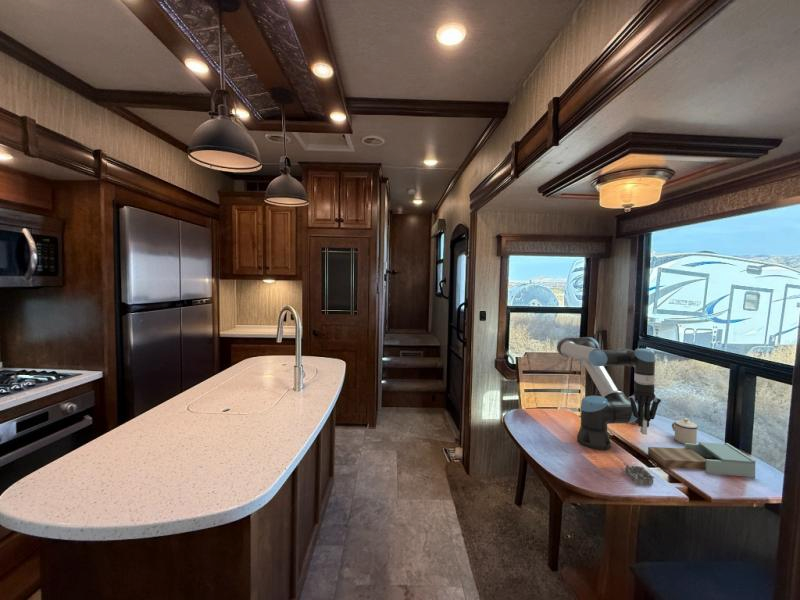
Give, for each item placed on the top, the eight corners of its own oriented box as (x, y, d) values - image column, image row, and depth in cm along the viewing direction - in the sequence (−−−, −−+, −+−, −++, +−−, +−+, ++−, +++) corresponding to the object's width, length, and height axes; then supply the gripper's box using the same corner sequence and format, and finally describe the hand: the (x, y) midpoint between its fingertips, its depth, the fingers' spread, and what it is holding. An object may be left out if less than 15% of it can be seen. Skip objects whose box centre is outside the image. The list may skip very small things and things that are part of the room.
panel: (664, 468, 149) (664, 459, 149) (648, 455, 161) (648, 446, 161) (709, 471, 147) (709, 462, 147) (689, 457, 159) (689, 448, 159)
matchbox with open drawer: (707, 472, 145) (707, 456, 145) (684, 454, 160) (684, 439, 160) (754, 477, 141) (755, 460, 141) (727, 457, 157) (727, 443, 156)
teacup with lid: (702, 444, 170) (702, 421, 169) (685, 445, 169) (686, 422, 168) (679, 434, 182) (680, 412, 181) (664, 435, 181) (664, 413, 180)
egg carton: (622, 471, 147) (622, 462, 147) (640, 472, 147) (640, 463, 146) (636, 485, 137) (636, 475, 137) (656, 486, 136) (656, 476, 136)
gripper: (632, 384, 153) (631, 435, 154) (665, 385, 150) (664, 438, 151) (624, 379, 161) (624, 428, 161) (656, 381, 158) (655, 431, 159)
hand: (643, 433), depth 156 cm, fingers closed
